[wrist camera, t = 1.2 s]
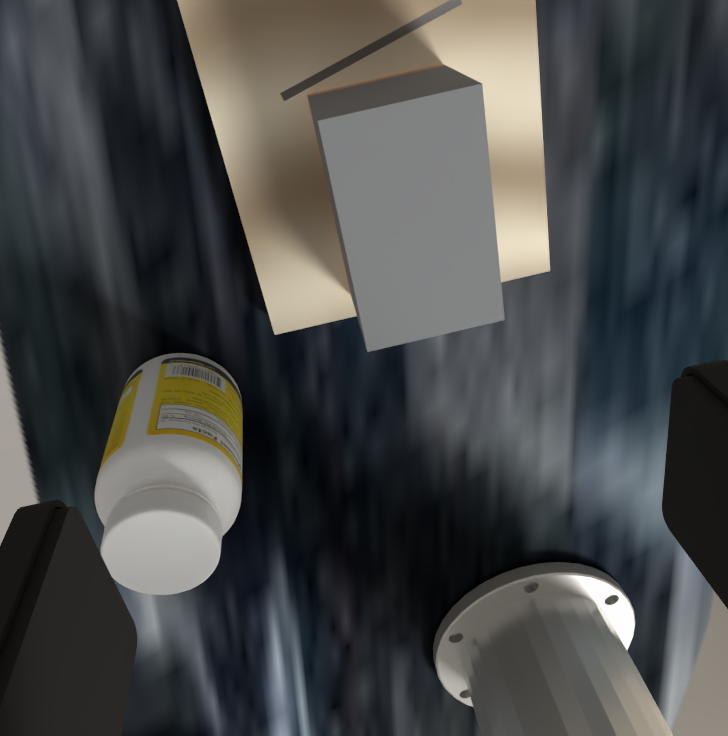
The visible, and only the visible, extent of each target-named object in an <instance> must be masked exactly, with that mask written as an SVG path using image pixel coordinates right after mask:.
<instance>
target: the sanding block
mask: <svg viewBox="0 0 728 736" xmlns="http://www.w3.org/2000/svg"><path fill="white" fill-rule="evenodd" d="M307 97H308V102H309V106H310V111H311V116H312V120H313V125H314V129H315V134H316V138H317V143H318V148H319V152H320V157H321V161H322V166H323V170H324V175H325V179H326V184H327V189H328V193H329V198H330V202H331V207H332V211H333V216H334V220H335V225H336V230H337V234H338V239H339V243H340V248H341V252H342V257H343V262H344V266H345V271H346V275H347V280H348V284H349V289H350V293H351V297H352V301H353V304H354V308H355V311H356V314H357V318H358V321H359V325H360V328H361V331H362V335H363V338H364V342H365V345H366V349H367V352H370V351H374V350H378V349H382V348H387V347H391V346H395V345H400V344H404V343H408V342H412V341H417V340H421V339H425V338H429V337H434V336H438V335H442V334H447V333H451V332H455V331H459V330H464V329H468V328H472V327H476V326H481V325H485V324H489V323H494V322H498V321H502V320H505V319H504V308H503V298H502V287H501V277H500V266H499V256H498V245H497V234H496V224H495V213H494V203H493V192H492V182H491V171H490V160H489V150H488V139H487V129H486V118H485V108H484V97H483V86H482V83H480V82H478V81H476V80H474V79H472V78H470V77H468V76H466V75H464V74H462V73H460V72H458V71H456V70H454V69H452V68H450V67H448V66H446V65H444V64H441V65H436V66H432V67H427V68H423V69H418V70H414V71H410V72H405V73H401V74H396V75H392V76H387V77H383V78H379V79H374V80H370V81H365V82H361V83H356V84H352V85H348V86H343V87H339V88H334V89H330V90H325V91H321V92H317V93H312V94H308V95H307Z"/></svg>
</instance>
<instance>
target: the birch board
mask: <svg viewBox="0 0 728 736" xmlns="http://www.w3.org/2000/svg"><path fill="white" fill-rule="evenodd" d="M177 2H178V5H179V9H180V12H181V15H182V19H183V22H184V26H185V29H186V33H187V36H188V39H189V43H190V46H191V50H192V53H193V57H194V60H195V63H196V67H197V70H198V74H199V77H200V81H201V84H202V87H203V91H204V94H205V98H206V101H207V105H208V108H209V111H210V115H211V118H212V122H213V125H214V129H215V132H216V135H217V139H218V142H219V146H220V149H221V153H222V156H223V159H224V163H225V166H226V170H227V173H228V177H229V180H230V183H231V187H232V190H233V194H234V197H235V201H236V204H237V208H238V211H239V214H240V218H241V221H242V225H243V228H244V232H245V235H246V238H247V242H248V245H249V249H250V252H251V256H252V259H253V262H254V266H255V269H256V273H257V276H258V280H259V283H260V286H261V290H262V293H263V297H264V300H265V304H266V307H267V310H268V314H269V317H270V321H271V324H272V328H273V331H274V334H275V335H277V334H281V333H285V332H290V331H294V330H298V329H303V328H307V327H311V326H316V325H320V324H324V323H328V322H333V321H337V320H341V319H346V318H350V317H354V316H357V314H356V311H355V308H354V304H353V301H352V297H351V293H350V289H349V284H348V280H347V275H346V271H345V266H344V262H343V257H342V252H341V248H340V243H339V239H338V234H337V230H336V225H335V220H334V216H333V211H332V207H331V202H330V198H329V193H328V189H327V184H326V179H325V175H324V170H323V166H322V161H321V157H320V152H319V148H318V143H317V138H316V134H315V129H314V125H313V120H312V116H311V111H310V106H309V102H308V97H307V95H308V94H312V93H317V92H321V91H325V90H330V89H334V88H339V87H343V86H348V85H352V84H356V83H361V82H365V81H370V80H374V79H379V78H383V77H387V76H392V75H396V74H401V73H405V72H410V71H414V70H418V69H423V68H427V67H432V66H436V65H441V64H444V65H446V66H448V67H450V68H452V69H454V70H456V71H458V72H460V73H462V74H464V75H466V76H468V77H470V78H472V79H474V80H476V81H478V82H480V83H482V86H483V97H484V108H485V118H486V129H487V139H488V150H489V160H490V171H491V182H492V192H493V203H494V213H495V224H496V234H497V245H498V256H499V266H500V277H501V282H504V281H509V280H513V279H517V278H522V277H526V276H530V275H534V274H539V273H543V272H547V271H550V260H549V242H548V223H547V205H546V186H545V168H544V150H543V131H542V113H541V94H540V76H539V57H538V39H537V20H536V2H535V0H177Z"/></svg>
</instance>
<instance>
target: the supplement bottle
mask: <svg viewBox="0 0 728 736" xmlns="http://www.w3.org/2000/svg"><path fill="white" fill-rule="evenodd" d="M242 425H243V414H242V399H241V394H240V391H239V388H238V386H237V384H236V382H235V381H234V379H233V378H232V376H231V375H230V374H229V373H228V372H227V371H226V370H225V369H224V368H223V367H221V366H220V365H219V364H217V363H215V362H214V361H212V360H210V359H208V358H205V357H202V356H199V355H195V354H189V353H172V354H166V355H161V356H158V357H156V358H153V359H151V360H149V361H147V362H145V363H144V364H142V365H141V366H140V367H138V368H137V369H136V370H135V371H134V372H133V373H132V375H131V376H130V377H129V379H128V380H127V382H126V384H125V386H124V389H123V391H122V394H121V398H120V401H119V404H118V408H117V411H116V415H115V418H114V422H113V425H112V428H111V432H110V435H109V439H108V442H107V445H106V449H105V452H104V456H103V459H102V462H101V466H100V469H99V473H98V477H97V481H96V486H95V506H96V510H97V513H98V515H99V518H100V520H101V521H102V523H103V525H104V526H105V528H104V534H103V539H102V544H101V556H102V558H103V560H104V562H105V564H106V566H107V568H108V570H109V572H110V574H111V576H112V578H113V579H114V580H116V581H117V582H118V583H120V584H121V585H123V586H125V587H127V588H129V589H131V590H134V591H137V592H140V593H145V594H152V595H169V594H176V593H180V592H184V591H187V590H189V589H192V588H194V587H196V586H198V585H199V584H201V583H202V582H204V581H205V580H206V579H207V578H208V577H209V576H210V575H211V574H212V573H213V572H214V570H215V568H216V567H217V565H218V562H219V559H220V553H221V541H222V536H223V535H224V534H225V533H226V532H227V531H228V530H229V528H230V527H231V526H232V524H233V523H234V521H235V519H236V517H237V515H238V512H239V509H240V504H241V496H242V440H243V438H242V435H243V431H242V430H243V427H242Z"/></svg>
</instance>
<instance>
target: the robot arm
mask: <svg viewBox="0 0 728 736" xmlns="http://www.w3.org/2000/svg"><path fill="white" fill-rule="evenodd" d="M662 512H663V516H664V520H665V522H666V524H667V527H668V528H669V530H670V531H671V533H672V534H673V535H674V537H675V538H676V539H677V541H678V542H679V544H680V545H681V546H682V548H683V549H684V550H685V552H686V553H687V554H688V556H689V557H690V558H691V560H692V561H693V562H694V564H695V565H696V567H697V568H698V569H699V571H700V572H701V573H702V575H703V576H704V577H705V579H706V580H707V581H708V583H709V584H710V585H711V587H712V588H713V590H714V591H715V592H716V594H717V595H718V596H719V598H720V599H721V600H722V602H723V603H724V604H725V606H726V607H727V609H728V361H726V360H718V361H713V362H708V363H703V364H699V365H694V366H689V367H687V368H685V369H684V370H683V372H682V375H681V378H677V379H676V380H674V382H673V385H672V393H671V405H670V417H669V429H668V441H667V453H666V465H665V476H664V488H663V500H662ZM634 628H635V616H634V610H633V608H632V605H631V603H630V601H629V599H628V597H627V596H626V594H625V593H624V591H623V590H622V588H621V587H620V585H619V584H618V583H617V582H616V581H615V580H614V579H613V578H611V577H610V576H609V575H608V574H606V573H604V572H602V571H600V570H598V569H596V568H593V567H589V566H586V565H582V564H578V563H566V562H551V563H538V564H533V565H528V566H524V567H519V568H516V569H513V570H510V571H508V572H505V573H502V574H499V575H497V576H495V577H493V578H491V579H489V580H487V581H485V582H484V583H482V584H480V585H479V586H477V587H476V588H474V589H473V590H472V591H470V592H469V593H467V594H466V595H465V596H464V597H463V598H462V599H461V600H460V601H458V602H457V603H456V604H455V605H454V606H453V607H452V608H451V610H450V611H449V612H448V614H447V615H446V616H445V618H444V619H443V620H442V622H441V624H440V626H439V628H438V630H437V632H436V635H435V640H434V644H433V658H434V663H435V667H436V670H437V674H438V678H439V680H440V681H441V683H442V685H443V687H444V688H445V689H446V690H447V691H448V692H449V693H450V694H451V695H452V696H453V697H454V698H456V699H458V700H459V701H461V702H463V703H464V704H467V705H469V706H472V707H474V711H475V714H476V718H477V721H478V724H479V728H480V731H481V735H482V736H673V734H672V732H671V731H670V729H669V727H668V725H667V723H666V721H665V720H664V718H663V716H662V714H661V712H660V710H659V709H658V707H657V705H656V703H655V701H654V699H653V698H652V696H651V694H650V692H649V690H648V688H647V687H646V685H645V683H644V681H643V679H642V677H641V676H640V674H639V672H638V670H637V668H636V666H635V665H634V663H633V661H632V659H631V657H630V655H629V654H628V652H627V650H628V647H629V645H630V643H631V640H632V638H633V635H634ZM136 648H137V633H136V627H135V624H134V621H133V619H132V617H131V615H130V613H129V611H128V609H127V607H126V605H125V603H124V601H123V599H122V597H121V595H120V593H119V591H118V589H117V586H116V584H115V582H114V580H113V578H112V576H111V574H110V572H109V570H108V568H107V566H106V564H105V562H104V560H103V558H102V556H101V554H100V552H99V550H98V548H97V546H96V544H95V542H94V540H93V538H92V536H91V534H90V532H89V530H88V528H87V526H86V524H85V522H84V520H83V518H82V516H81V513H80V512H79V510H78V509H77V508H76V507H73V506H71V507H66V505H65V504H64V503H63V502H62V501H61V500H53V501H49V502H44V503H39V504H35V505H30V506H25V507H21V508H19V509H18V510H17V511H16V513H15V514H14V516H13V519H12V521H11V523H10V526H9V528H8V530H7V532H6V534H5V537H4V539H3V541H2V543H1V546H0V736H121V733H122V728H123V722H124V716H125V711H126V705H127V699H128V694H129V688H130V682H131V676H132V671H133V665H134V659H135V654H136Z"/></svg>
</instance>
